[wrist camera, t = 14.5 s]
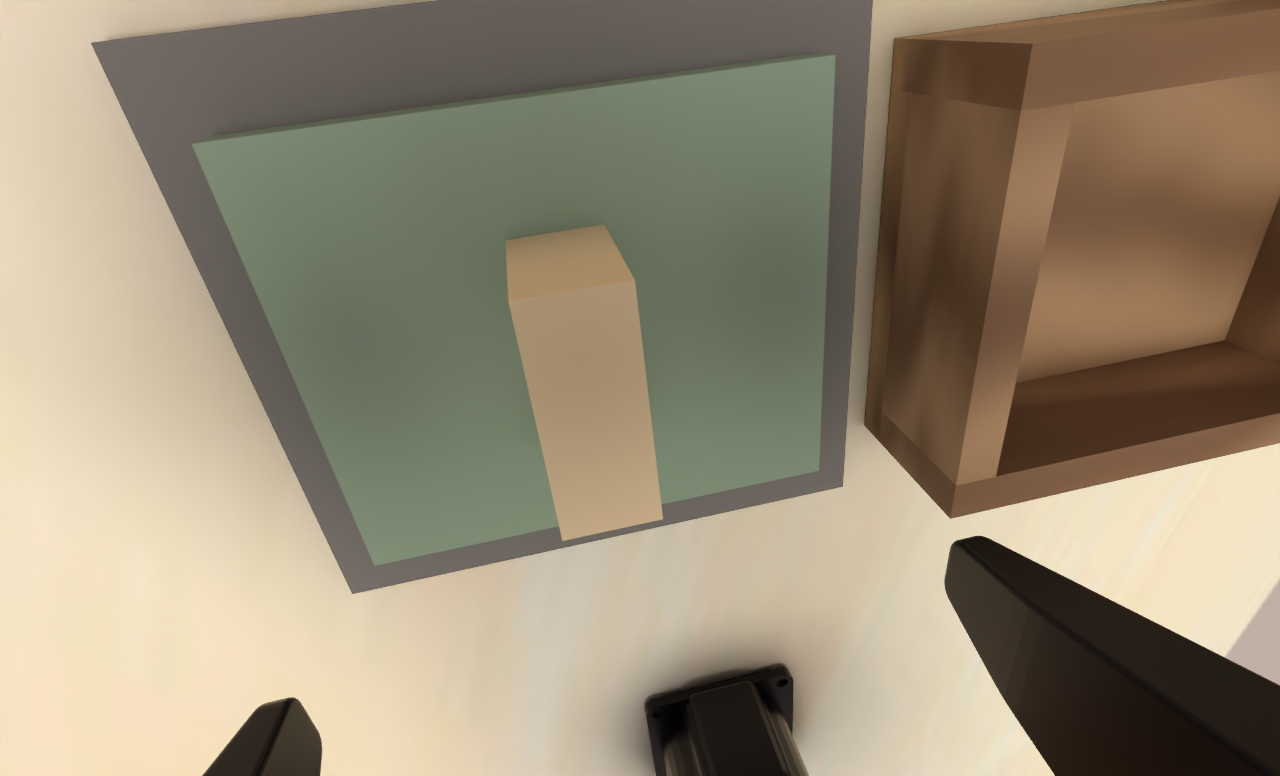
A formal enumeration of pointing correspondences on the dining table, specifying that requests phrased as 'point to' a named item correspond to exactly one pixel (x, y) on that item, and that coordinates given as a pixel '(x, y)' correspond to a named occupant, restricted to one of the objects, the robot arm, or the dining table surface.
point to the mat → (451, 72)
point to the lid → (548, 295)
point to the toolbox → (1079, 250)
